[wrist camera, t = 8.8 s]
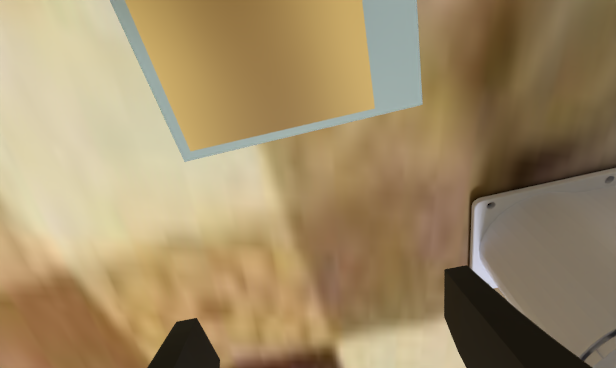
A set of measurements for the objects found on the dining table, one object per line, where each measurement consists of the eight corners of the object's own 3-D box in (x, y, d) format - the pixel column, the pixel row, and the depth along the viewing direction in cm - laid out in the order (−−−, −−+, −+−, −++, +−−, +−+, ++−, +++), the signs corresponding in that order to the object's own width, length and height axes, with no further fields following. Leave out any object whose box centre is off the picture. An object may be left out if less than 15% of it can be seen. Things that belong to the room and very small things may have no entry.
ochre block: (314, -92, 12) (344, -145, 7) (339, 60, 14) (374, 108, 9) (171, -55, 12) (91, -77, 7) (221, 88, 14) (190, 151, 9)
